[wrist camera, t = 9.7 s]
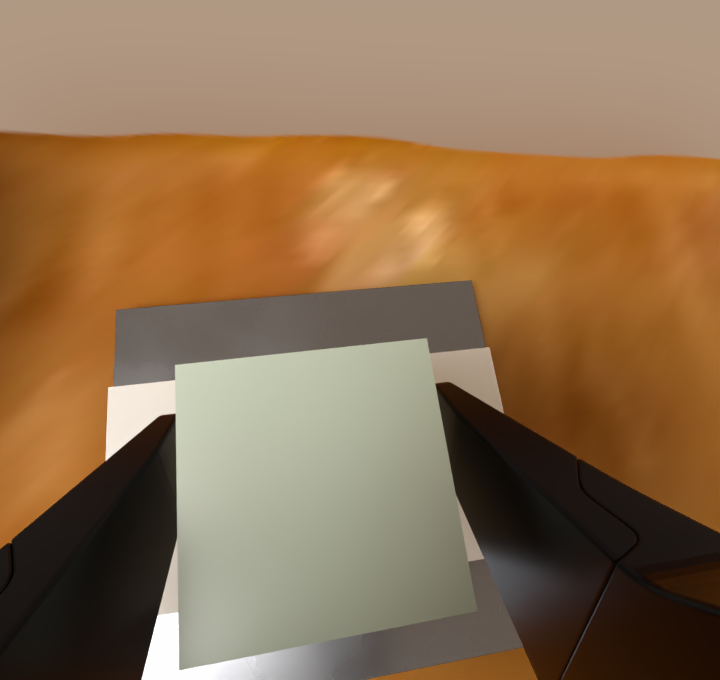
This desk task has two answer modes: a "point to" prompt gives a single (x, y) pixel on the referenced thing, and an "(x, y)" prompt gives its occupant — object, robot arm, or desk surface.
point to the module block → (313, 500)
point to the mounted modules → (151, 400)
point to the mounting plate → (305, 333)
